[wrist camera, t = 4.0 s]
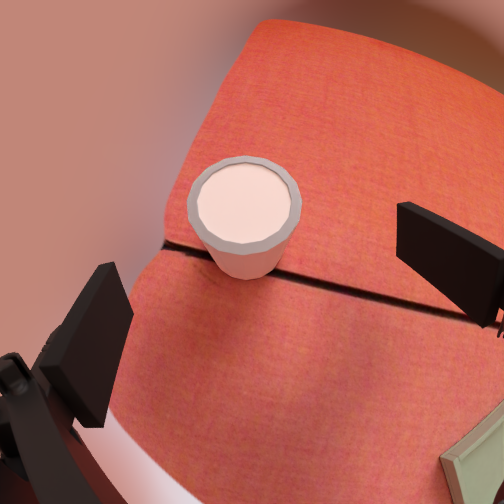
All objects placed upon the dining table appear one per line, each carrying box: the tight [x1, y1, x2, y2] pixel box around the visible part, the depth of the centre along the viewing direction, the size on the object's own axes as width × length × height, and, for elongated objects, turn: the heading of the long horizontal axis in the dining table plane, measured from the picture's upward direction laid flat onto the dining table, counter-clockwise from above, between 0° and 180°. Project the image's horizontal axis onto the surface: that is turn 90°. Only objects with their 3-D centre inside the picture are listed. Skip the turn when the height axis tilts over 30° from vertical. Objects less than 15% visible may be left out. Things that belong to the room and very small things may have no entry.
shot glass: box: [187, 155, 302, 280], centre depth 21 cm, size 7×7×7 cm
